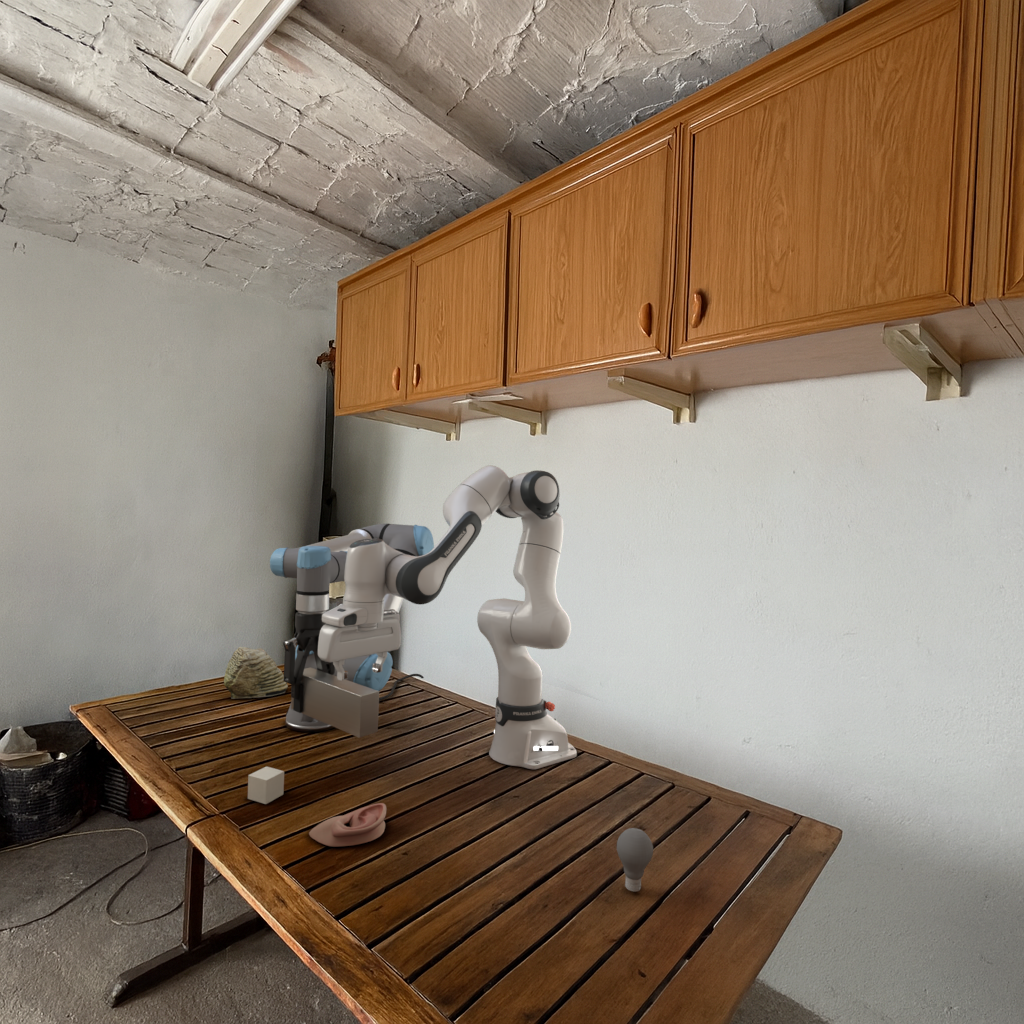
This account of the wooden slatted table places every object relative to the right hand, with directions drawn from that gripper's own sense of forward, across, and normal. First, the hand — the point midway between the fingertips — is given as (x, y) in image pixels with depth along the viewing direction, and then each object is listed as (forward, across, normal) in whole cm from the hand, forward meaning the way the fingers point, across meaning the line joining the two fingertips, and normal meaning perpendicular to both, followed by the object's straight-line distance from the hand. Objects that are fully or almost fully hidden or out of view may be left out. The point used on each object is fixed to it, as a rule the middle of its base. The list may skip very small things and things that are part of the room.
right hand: (360, 675), depth 139 cm
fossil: (+24, -17, -72) cm, 78 cm away
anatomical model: (+25, +13, +14) cm, 31 cm away
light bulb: (+24, -8, +64) cm, 69 cm away
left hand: (+12, 0, -19) cm, 22 cm away
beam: (+12, 0, -10) cm, 15 cm away
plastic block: (+25, +16, -10) cm, 31 cm away
